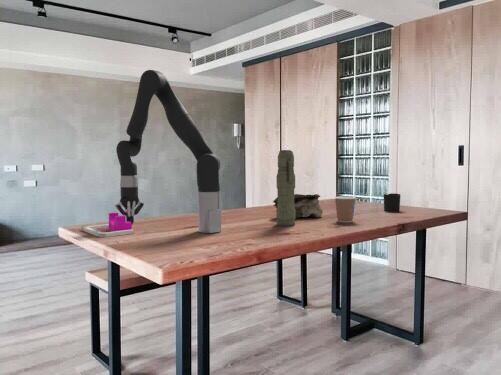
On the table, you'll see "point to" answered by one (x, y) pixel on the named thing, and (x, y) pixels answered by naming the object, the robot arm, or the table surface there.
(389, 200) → the pen holder
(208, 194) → the robot arm
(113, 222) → the toy block
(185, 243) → the table surface
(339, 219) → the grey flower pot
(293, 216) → the green stone statue
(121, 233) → the frame
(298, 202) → the hollow geode rock
